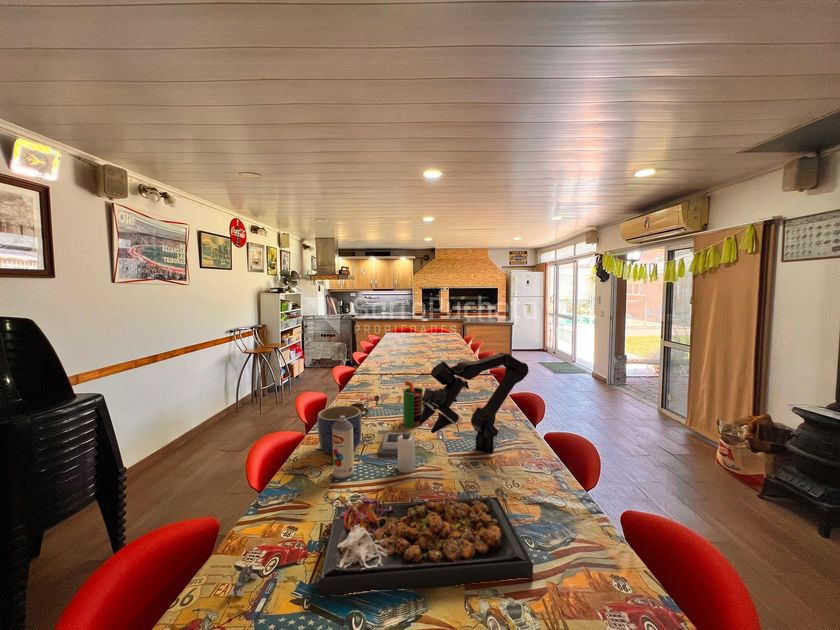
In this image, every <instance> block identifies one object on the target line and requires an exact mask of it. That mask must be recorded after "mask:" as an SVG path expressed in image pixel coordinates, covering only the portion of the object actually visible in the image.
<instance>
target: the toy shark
mask: <svg viewBox="0 0 840 630" xmlns="http://www.w3.org/2000/svg"><path fill="white" fill-rule="evenodd" d="M250 578H253V579H252V580H258V575H257V573H254V570H253V565H252V564H250V565H245V566H244V567H243V569H242V570H241V571H240V573H239V574H238V578H237V581H236V582H235V583H234V587H233V589H231V590H230V591H229V596H230V595H234V596H232V597H233V598H237V597H236V596H244V597H245V595H244V592H243V591H242V590H243V589H244V588H243V586H244V585H245V584H246V583H247V584H248V583H249V581H250V580H251V579H250ZM249 579H250V580H249ZM248 580H249V581H248ZM247 584H246V585H247ZM246 585H245V586H246ZM245 586H244V587H245ZM242 588H243V589H242ZM241 589H242V590H241Z"/></svg>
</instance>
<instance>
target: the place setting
mask: <svg viewBox="0 0 840 630" xmlns="http://www.w3.org/2000/svg"><path fill="white" fill-rule="evenodd" d="M373 397H374V402H375V407H378V406H379V405H378V404H379V403H378V402H379V400H380V395H374V396H373ZM377 405H378V406H377ZM349 406H353V407H356V408H358V409H360V411H361V416H362V417H366V418H365V419H368V418H369V415H368V414H369V412H370V410H369V408H366V407H365V405H364V403H360V402H355V403H352V404H350V405H349ZM364 410H366V411H367V412H366V411H365V413H363V412H364ZM367 417H368V418H367Z"/></svg>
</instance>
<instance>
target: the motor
mask: <svg viewBox="0 0 840 630" xmlns="http://www.w3.org/2000/svg"><path fill="white" fill-rule="evenodd" d="M404 386H405V387H407V388H404V389H403V406H402V407H403V412H402V413H403V415H402V418H403V419H402V420H403V421H402V423H403V424H402V425H404V426H405V427H407V428H409V429H410V428H411V429H413V428H415V427H417V426H418V427H421V426H422V425H423V424H420V423H419V421H420V418H421V415H422V412H423V404H422V402H423V401H422V400H421V399H422V398H423V395H424V392H423V391H424V390H423V388H421V387H414V383H413V381H412V380H405V381H404ZM418 427H417V428H418Z"/></svg>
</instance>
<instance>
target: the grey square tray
mask: <svg viewBox="0 0 840 630" xmlns="http://www.w3.org/2000/svg"><path fill="white" fill-rule="evenodd" d="M402 433H403V432H385V435H384V437H382V441H381V445H380V447H379V451H378V456H386V457H387V456H392V457H393V456H397V457H398V436H400V435H402ZM409 433H410V435H413V434H412V432H409Z"/></svg>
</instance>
